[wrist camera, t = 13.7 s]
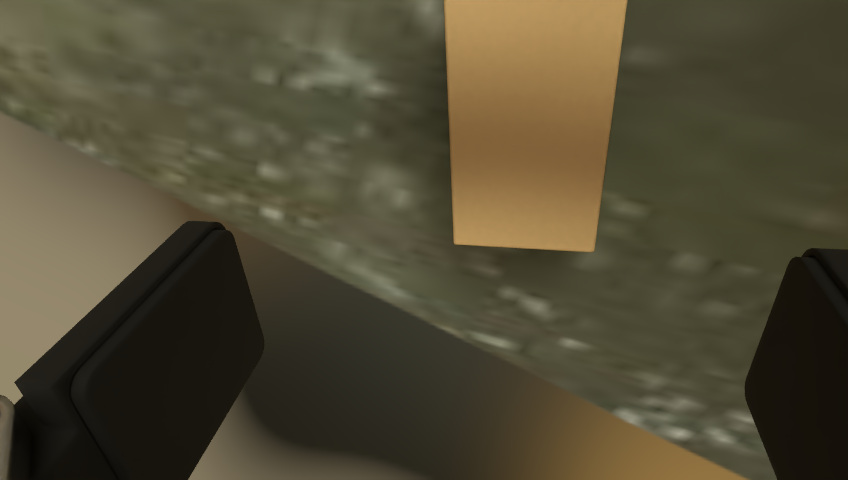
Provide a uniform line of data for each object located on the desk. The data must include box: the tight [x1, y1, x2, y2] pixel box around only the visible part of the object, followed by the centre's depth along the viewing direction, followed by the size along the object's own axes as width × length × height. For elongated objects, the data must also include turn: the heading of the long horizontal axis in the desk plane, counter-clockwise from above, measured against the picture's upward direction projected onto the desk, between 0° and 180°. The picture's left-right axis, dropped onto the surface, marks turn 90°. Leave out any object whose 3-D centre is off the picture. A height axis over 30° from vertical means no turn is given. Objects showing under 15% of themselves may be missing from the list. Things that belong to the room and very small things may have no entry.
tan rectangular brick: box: [444, 0, 627, 252], centre depth 16 cm, size 8×4×3 cm, turn 4°
